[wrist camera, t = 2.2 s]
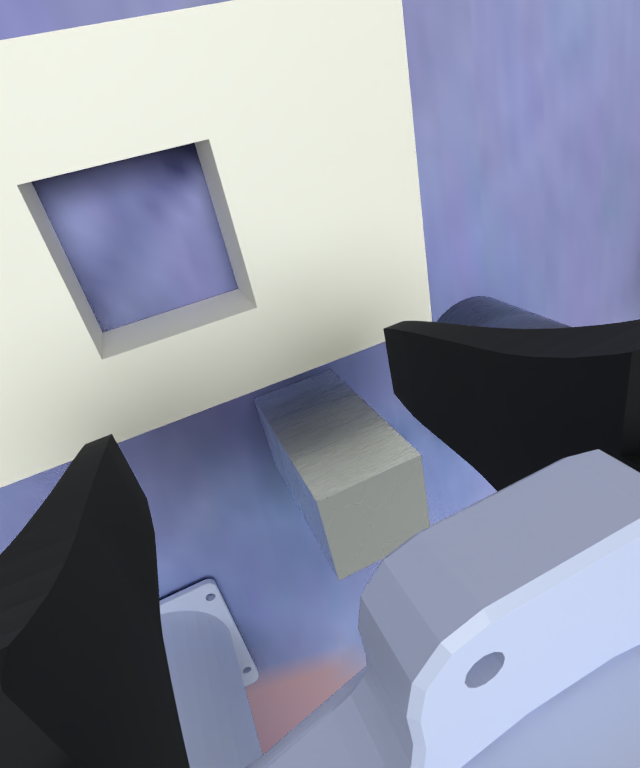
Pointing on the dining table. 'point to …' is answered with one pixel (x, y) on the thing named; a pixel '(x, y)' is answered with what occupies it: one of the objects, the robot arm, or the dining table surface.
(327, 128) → the cream socket block
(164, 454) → the dining table surface
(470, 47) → the dining table surface
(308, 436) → the square steel peg
